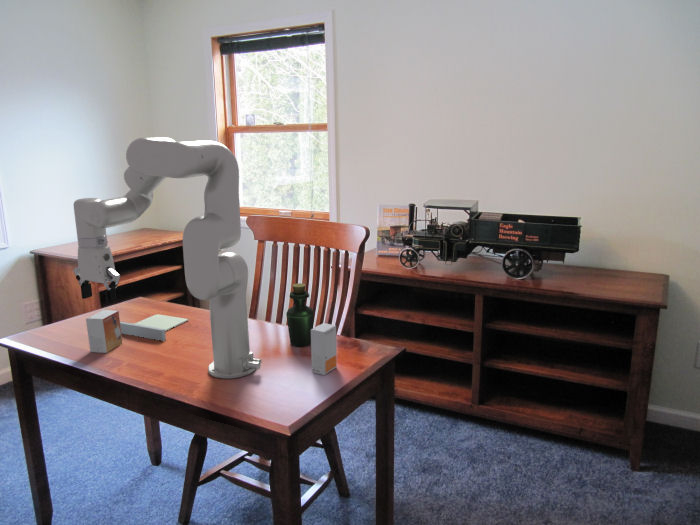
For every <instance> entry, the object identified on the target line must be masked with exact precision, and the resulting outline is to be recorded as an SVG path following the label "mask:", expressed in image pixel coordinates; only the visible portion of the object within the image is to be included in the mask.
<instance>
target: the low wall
mask: <svg viewBox="0 0 700 525" xmlns="http://www.w3.org/2000/svg"><path fill="white" fill-rule="evenodd" d="M120 327H121V333H122V334H121V335H127V334H128V336H132V335H134V336H133V337H138V336H139V338H143V337H144V339H149V340H154V339H155V341H159V340H161V341H162V342H165V341H166V340H167V338H166V336H167V335H166V332H165V329H162V328H156V327H150V326H144V325H138V324H135V323H133V322H131V323H130V322H128V321H127V322H125V321H121V320H120ZM161 341H160V342H161Z"/></svg>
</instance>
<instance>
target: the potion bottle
mask: <svg viewBox="0 0 700 525" xmlns="http://www.w3.org/2000/svg"><path fill="white" fill-rule="evenodd" d="M292 289H293V291H290V294H289V296H288V297H289V299H292V301H293V304H294V305H293V306H292V307H290V308H288V309H287V311H286V321H287V330H288V336H289V342H290V343H289V344H291V346H293V347H297V348H305V347H308V346H311V329H313V328H314V314H315V313H314V310H313V308H311V306H308V305H306V299H308V298H310V293H309V291H307V290H306V284H305V283H301V282H300V283H294V284H292Z"/></svg>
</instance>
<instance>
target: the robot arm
mask: <svg viewBox="0 0 700 525" xmlns="http://www.w3.org/2000/svg"><path fill="white" fill-rule="evenodd" d="M125 155H126V156H125V159H126V163H127V165H128V167H127V168H126V169H125V171H124V173H123V180H124V182H125V184H126V185H127V187H128V188H129V189H130V190H129V191H128V192H127V193H126V194H125V195H123V196H121V197H114V198H113V197H112V198H108V199H100V198H97V197H83V198H78V199H76V200H74V202H73V212H74V220H75V228H76V230H75V231H76V238H77V245H78V246H77V266H76V267H75V268H73V270H72V271H73V273H74V275H75V279H76V280H77V281H78V285H79V286H80V294H81V299H83V300H84V299H88V298H91V297H92V296H93V290H92V289H93V287H92V283H90V282H93V283H100V284H103V286H104V288H105V290H104V294H105V302H106V304H111V303H114V302H116V301H117V291H116V288H117V287H118V284H119V283H120V278H121V275H120V274H119V273H118V272H117V271H116V267H115V266H116V265H115V262H114V257H113V253H112V251H111V250H112V249H111V248H110V246H108V243H109V241H108V236H107V229H108V228H109V229H110V228H113V227H117V226H120V225H126V224H130V223H132V222H135V221H136V220H138V219H139V218H140V217H142V215H144V213H145V212H146V211H147V210H148V209H149V208H150V206H151V205H152V203H153V198H154V191H155V190H156V189H157V188H158V187H159V186H160V185H161V184H162V183H163V182H164V180H166V178H171V179H189V178H190V179H191V178H196V177H202V176H206V177H207V182H206V183H205V184H206V185H205V186H204V187H205V188H204V191H203V193H204V194H203V201H204V214H203V215H199V216H195V217H193V218H192V219H191V220H189V221H188V223H187V224H186V225H185V227H184V230H183V232H182V233H183V234H182V251H183V264H184V265H183V267H184V276H185V283H186V284H185V285H186V286H187V290H188V291H189V293H190V294H191V296H193V297H194V298H196V299H197V300H200V301H209V321H210V329H211V330H210V332H211V333H210V334H211V343H212V345H211V346H212V355H213V356H212V358H213V361H212V362H211V363H209V365H208V366H207V369H208V370H207V371H208V374H209V375H210V376H212V377H214V378H218V379H228V380H229V379H238V378H242V377H244V376H247V375H250V374H252V373H253V372H255V371H256V370H257V371H259V370H260V369H261V364H262V362H263V361H262V359H261V358H255V357H254V351H251V348H250V332H249V320H248V302H247V300H248V299H247V298H248V297H247V296H248V294H247V292H248V285H249V284H248V282H249V267H248V264H247V261H246V260H245V259H244V258H243V257H242V256H241V255H240V254H238V253H236V252H231V251H228V252H227V251H226V252H223V253H220V252H222V251H225V250H229V249H230V248H232V247H234V246H236V245H237V244H238V243H239V241H240V239H241V235H242V229H241V228H242V226H241V207H240V206H241V204H240V193H239V192H240V169H239V164H238V161H237V157H235V155H234V153H233V151H232V150H230V149H229V148H228V147H227V146H226V145H225V144H222V143H220V142H217V141H214V140H193V141H192V140H188V141H176V140H174V139H172V138H170V137H166V136H152V137H149V136H148V137H147V136H145V137H138V138H136V139H134V140H132V141H131V142H130V143H129V145H128V147H127V149H126V154H125ZM117 289H118V288H117Z"/></svg>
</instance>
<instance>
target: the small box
mask: <svg viewBox="0 0 700 525" xmlns="http://www.w3.org/2000/svg"><path fill="white" fill-rule="evenodd" d="M119 312H120V311H119V310H108V309H102V310H100V311H99V312H97V313H95V314H93V315H91V316H90V315H89V316H88V317H86V318H85V322H86V329H87V330H86V331H87V336H88V343H89V344H88V345H89V351H90V353H100V354H101V353H102V354H103V353H104V354H108V353H110V351H112V350H114V349H116V348H117V347H118V346H120V345H121V346H122V344H123V336H122V335H123V334H121V327H120V321H121V319H120V313H119Z"/></svg>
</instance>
